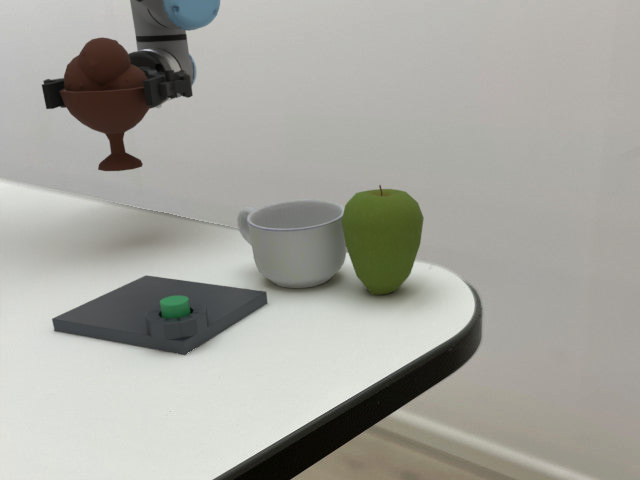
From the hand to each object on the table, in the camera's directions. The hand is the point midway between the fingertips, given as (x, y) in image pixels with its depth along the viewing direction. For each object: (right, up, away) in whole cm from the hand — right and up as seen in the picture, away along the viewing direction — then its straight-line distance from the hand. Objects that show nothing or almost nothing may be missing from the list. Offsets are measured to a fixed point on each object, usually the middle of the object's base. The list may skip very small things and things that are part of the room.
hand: (97, 95), depth 89 cm
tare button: (+13, -27, -18) cm, 35 cm away
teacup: (+23, -21, -1) cm, 31 cm away
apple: (+33, -24, -6) cm, 41 cm away
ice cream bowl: (0, -7, +7) cm, 10 cm away
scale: (+10, -26, -11) cm, 30 cm away
